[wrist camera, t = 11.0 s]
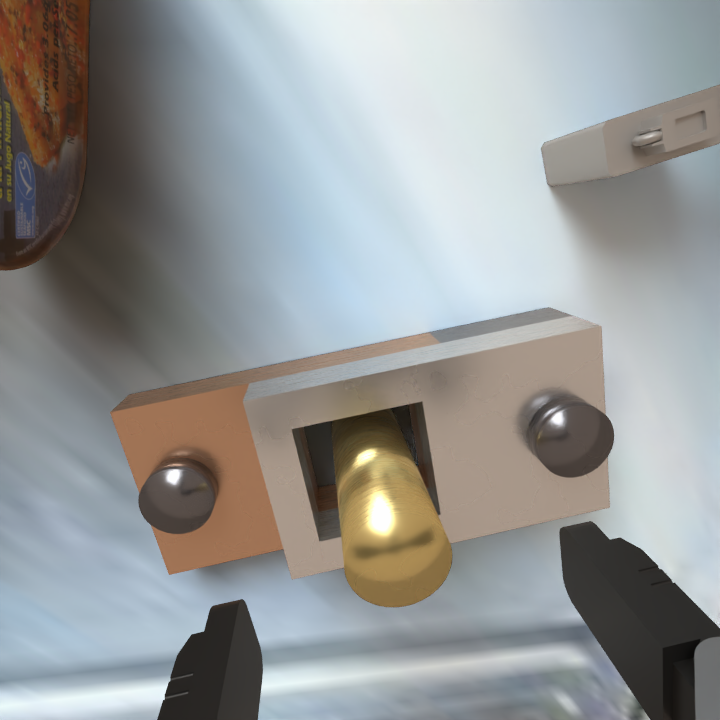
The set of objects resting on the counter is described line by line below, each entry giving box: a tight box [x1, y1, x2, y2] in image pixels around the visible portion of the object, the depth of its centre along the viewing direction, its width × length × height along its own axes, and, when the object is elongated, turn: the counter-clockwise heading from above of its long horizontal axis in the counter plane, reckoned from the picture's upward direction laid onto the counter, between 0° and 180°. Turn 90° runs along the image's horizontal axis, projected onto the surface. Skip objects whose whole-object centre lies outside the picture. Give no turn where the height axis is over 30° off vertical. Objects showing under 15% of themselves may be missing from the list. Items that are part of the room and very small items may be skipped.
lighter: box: [541, 85, 720, 187], centre depth 16 cm, size 7×2×8 cm, turn 107°
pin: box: [331, 408, 452, 607], centre depth 18 cm, size 3×3×9 cm
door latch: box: [110, 307, 614, 579], centre depth 20 cm, size 8×18×5 cm, turn 101°
